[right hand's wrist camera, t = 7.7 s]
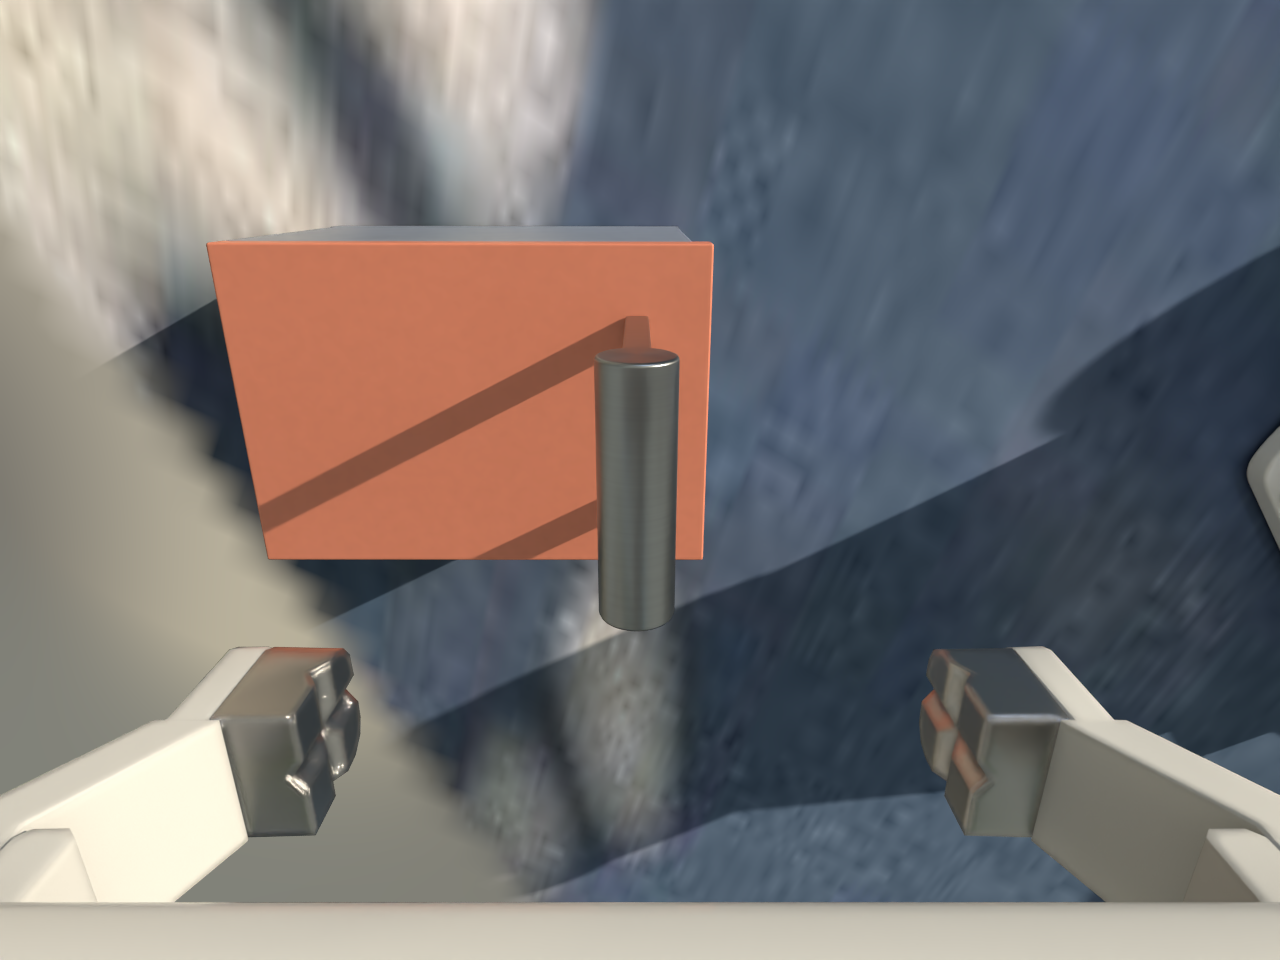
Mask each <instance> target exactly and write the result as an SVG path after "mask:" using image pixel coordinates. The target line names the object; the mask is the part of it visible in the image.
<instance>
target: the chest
mask: <svg viewBox="0 0 1280 960" xmlns="http://www.w3.org/2000/svg"><path fill="white" fill-rule="evenodd" d="M227 241H589V242H692V241H691V240H690V239H689V238H688V237H687V236H685V235H684V234H683V233H682V232H681V231H680V230H679V227H678V226H335V227H331V228H323V229H315V230H307V231H298V232H290V233H282V234H274V235H266V236H258V237H250V238H242V239H234V240H227Z"/></svg>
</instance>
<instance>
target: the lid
mask: <svg viewBox="0 0 1280 960" xmlns="http://www.w3.org/2000/svg"><path fill="white" fill-rule="evenodd" d="M206 246H207V251H208V256H209V261H210V266H211V272H212V277H213V282H214V287H215V292H216V297H217V302H218V307H219V312H220V317H221V322H222V327H223V333H224V338H225V343H226V348H227V353H228V358H229V363H230V368H231V373H232V378H233V383H234V388H235V394H236V399H237V404H238V409H239V414H240V419H241V424H242V429H243V434H244V439H245V444H246V449H247V454H248V460H249V465H250V470H251V475H252V480H253V485H254V490H255V495H256V500H257V505H258V510H259V515H260V521H261V526H262V531H263V536H264V541H265V546H266V551H267V556H268V559H292V560H598V585H599V613H600V615H601V617H602V619H603V620H604V621H605V622H606V623H607V624H609V625H611V626H613V627H615V628H618V629H622V630H627V631H646V630H652V629H655V628H658V627H661V626H663V625H664V624H666V623H667V622H668V621H669V620H670V619H671V618H672V616H673V614H674V605H675V560H701V559H702V558H703V534H704V506H705V478H706V450H707V422H708V394H709V366H710V337H711V309H712V281H713V253H714V245H713V244H712V243H711V242H589V241H218V242H209V243H207V244H206Z"/></svg>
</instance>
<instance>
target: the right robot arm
mask: <svg viewBox="0 0 1280 960" xmlns="http://www.w3.org/2000/svg"><path fill="white" fill-rule="evenodd" d="M1247 479H1248V482H1249V484H1250V487H1251V489H1252V491H1253V493H1254V495H1255V498H1256V500H1257V502H1258V504H1259V506H1260V508H1261V510H1262V513H1263V515H1264V517H1265V519H1266V521H1267V523H1268V526H1269V528H1270V530H1271V532H1272V534H1273V536H1274V538H1275V541H1276V543H1277V545H1278V547H1279V549H1280V426H1279V427H1278V428H1277V429H1276V430H1275V431H1274V432H1273V433H1272V434H1271V435H1270V436H1269V437H1268V439H1267V440H1266V441H1265V442H1264V443H1263V444H1262V445H1261V446H1260V448H1259V449H1258V450H1257V451H1256V453H1255V454H1254V455H1253V457H1252V459H1251V460H1250V462H1249V465H1248V468H1247ZM353 676H354V673H353V668H352V663H351V658H350V654H349V653H348V652H347V651H346V650H345V649H344V648H299V647H273V648H271V647H237V648H233V649H230V650H229V651H228V652H227V653H226V654H225V655H224V656H223V657H222V658H221V659H220V660H219V662H218V663H217V664H216V665H215V666H214V667H213V668H212V669H211V670H210V672H209V673H208V674H207V675H206V676H205V677H204V678H203V679H202V680H201V681H200V683H199V684H198V685H197V686H196V687H195V688H194V689H193V690H192V691H191V693H190V694H189V695H188V696H187V697H186V698H185V699H184V700H183V701H182V703H181V704H180V705H179V706H178V707H177V708H176V709H175V710H174V711H173V713H172V714H171V715H170V716H169V717H168V718H167V719H166V720H153V721H151V722H149V723H147V724H145V725H143V726H141V727H139V728H137V729H135V730H133V731H131V732H129V733H126V734H124V735H122V736H120V737H118V738H116V739H114V740H112V741H110V742H108V743H106V744H104V745H102V746H100V747H98V748H96V749H94V750H92V751H90V752H88V753H86V754H84V755H82V756H79V757H77V758H75V759H73V760H71V761H69V762H67V763H65V764H63V765H61V766H59V767H57V768H55V769H53V770H51V771H49V772H47V773H45V774H43V775H41V776H39V777H36V778H34V779H32V780H30V781H28V782H26V783H24V784H22V785H20V786H18V787H16V788H14V789H12V790H10V791H8V792H6V793H4V794H2V795H0V960H1280V795H1278V794H1276V793H1274V792H1272V791H1270V790H1268V789H1266V788H1264V787H1262V786H1260V785H1257V784H1255V783H1253V782H1251V781H1249V780H1247V779H1245V778H1243V777H1241V776H1239V775H1237V774H1235V773H1233V772H1231V771H1229V770H1227V769H1225V768H1223V767H1221V766H1219V765H1217V764H1215V763H1213V762H1211V761H1209V760H1207V759H1204V758H1202V757H1200V756H1198V755H1196V754H1194V753H1192V752H1190V751H1188V750H1186V749H1184V748H1182V747H1180V746H1178V745H1176V744H1174V743H1172V742H1170V741H1168V740H1166V739H1164V738H1162V737H1160V736H1158V735H1156V734H1154V733H1151V732H1149V731H1147V730H1145V729H1143V728H1141V727H1139V726H1137V725H1135V724H1133V723H1131V722H1129V721H1127V720H1114V719H1113V718H1112V717H1111V716H1110V715H1109V714H1108V713H1107V711H1106V710H1105V709H1104V708H1103V707H1102V706H1101V705H1100V704H1099V703H1098V701H1097V700H1096V699H1095V698H1094V697H1093V696H1092V695H1091V694H1090V693H1089V691H1088V690H1087V689H1086V688H1085V687H1084V686H1083V685H1082V684H1081V683H1080V681H1079V680H1078V679H1077V678H1076V677H1075V676H1074V675H1073V674H1072V673H1071V671H1070V670H1069V669H1068V668H1067V667H1066V666H1065V665H1064V664H1063V663H1062V661H1061V660H1060V659H1059V658H1058V657H1057V656H1056V655H1055V654H1054V653H1053V652H1052V651H1051V650H1050V649H1047V648H1045V647H1043V646H1036V647H1008V648H985V649H934V650H933V652H932V654H931V656H930V658H929V661H928V667H927V672H926V676H927V677H928V679H929V681H930V682H931V684H932V686H933V688H934V690H933V691H932V692H931V693H930V694H929V695H928V696H927V697H926V698H925V699H924V700H923V701H922V703H921V711H920V719H919V726H920V738H921V744H922V748H923V751H924V755H925V758H926V760H927V762H928V764H929V766H930V768H931V770H932V771H933V772H934V773H936V774H937V775H939V776H940V777H941V778H943V779H944V780H946V781H947V784H946V789H945V795H944V796H945V798H946V800H947V802H948V804H949V806H950V808H951V810H952V812H953V814H954V816H955V818H956V820H957V822H958V823H959V825H960V827H961V829H962V831H963V833H964V835H972V836H1007V837H1032V839H1031V840H1032V841H1033V842H1034V843H1035V844H1036V845H1038V846H1039V847H1040V848H1041V849H1042V850H1044V851H1045V852H1046V853H1047V854H1048V855H1050V856H1051V857H1052V858H1053V859H1054V860H1056V861H1057V862H1058V863H1059V864H1061V865H1062V866H1063V867H1064V868H1065V869H1067V870H1068V871H1069V872H1070V873H1071V874H1073V875H1074V876H1075V877H1076V878H1077V879H1079V880H1080V881H1081V882H1082V883H1083V884H1085V885H1086V886H1087V887H1088V888H1089V889H1091V890H1092V891H1093V892H1094V893H1095V894H1097V895H1098V896H1099V897H1100V898H1102V899H1103V900H1104V901H1105V902H175V901H176V900H177V899H179V898H180V897H181V896H182V895H184V894H185V893H186V892H187V891H188V890H190V889H191V888H192V887H193V886H194V885H196V884H197V883H198V882H199V881H200V880H202V879H203V878H204V877H205V876H206V875H208V874H209V873H210V872H211V871H212V870H214V869H215V868H216V867H217V866H219V865H220V864H221V863H222V862H223V861H225V860H226V859H227V858H228V857H229V856H231V855H232V854H233V853H234V852H235V851H237V850H238V849H239V848H240V847H241V846H243V845H244V844H245V843H246V842H247V841H248V837H272V836H306V835H316V833H317V831H318V829H319V827H320V826H321V824H322V822H323V820H324V817H325V816H326V814H327V812H328V810H329V808H330V806H331V804H332V802H333V800H334V798H335V796H336V795H335V789H334V784H333V781H334V780H336V779H337V778H339V777H340V776H341V775H343V774H344V773H346V772H347V771H348V770H349V768H350V766H351V764H352V762H353V759H354V757H355V755H356V751H357V747H358V742H359V738H360V718H361V717H360V710H359V703H358V701H357V700H356V699H355V698H354V697H353V696H352V695H351V694H350V693H349V692H348V691H347V690H346V688H347V686H348V684H349V682H350V681H351V679H352V677H353Z"/></svg>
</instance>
